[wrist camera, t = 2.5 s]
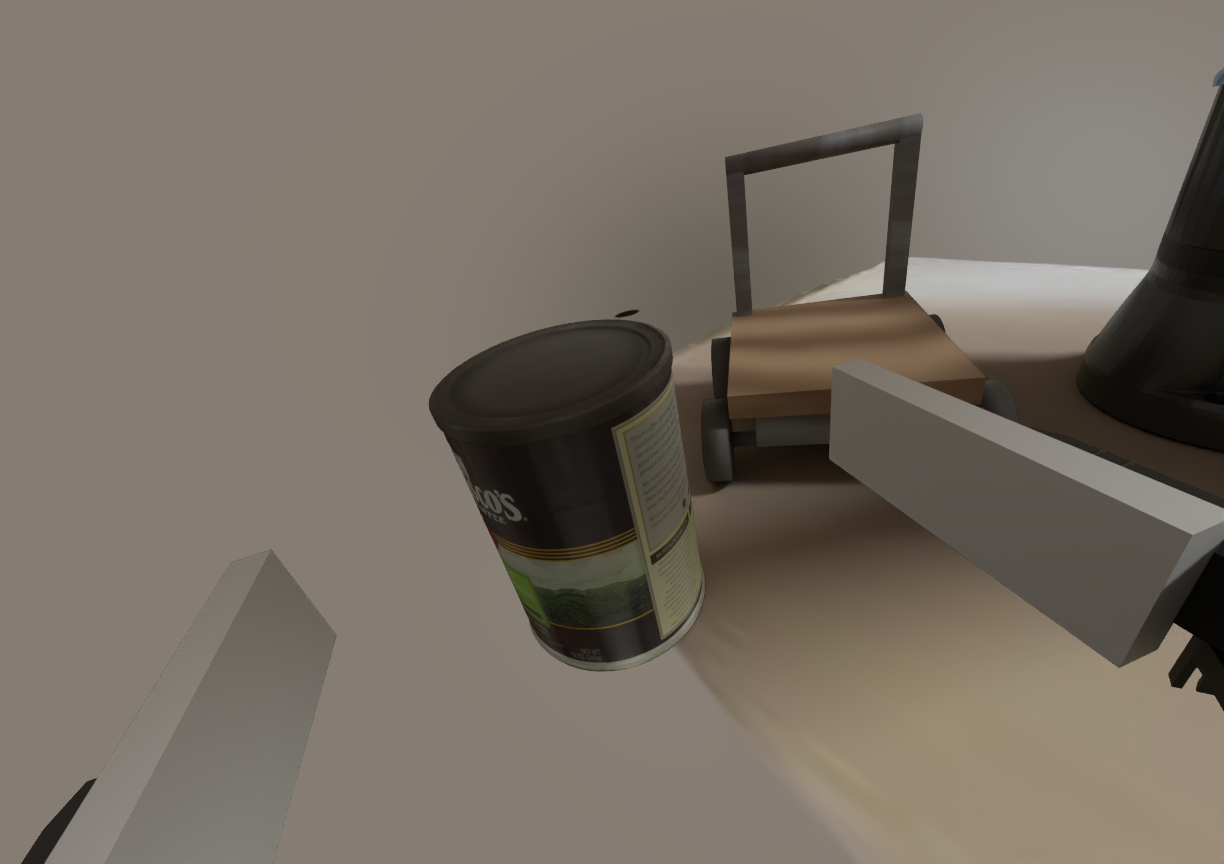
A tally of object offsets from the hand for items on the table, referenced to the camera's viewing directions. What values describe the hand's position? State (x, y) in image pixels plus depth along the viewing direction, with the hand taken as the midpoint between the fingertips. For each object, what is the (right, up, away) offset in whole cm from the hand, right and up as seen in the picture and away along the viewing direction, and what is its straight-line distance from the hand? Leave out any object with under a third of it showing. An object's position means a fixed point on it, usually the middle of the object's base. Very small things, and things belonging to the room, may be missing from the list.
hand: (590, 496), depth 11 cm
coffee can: (+1, -8, +16) cm, 18 cm away
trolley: (+17, +2, +25) cm, 30 cm away
